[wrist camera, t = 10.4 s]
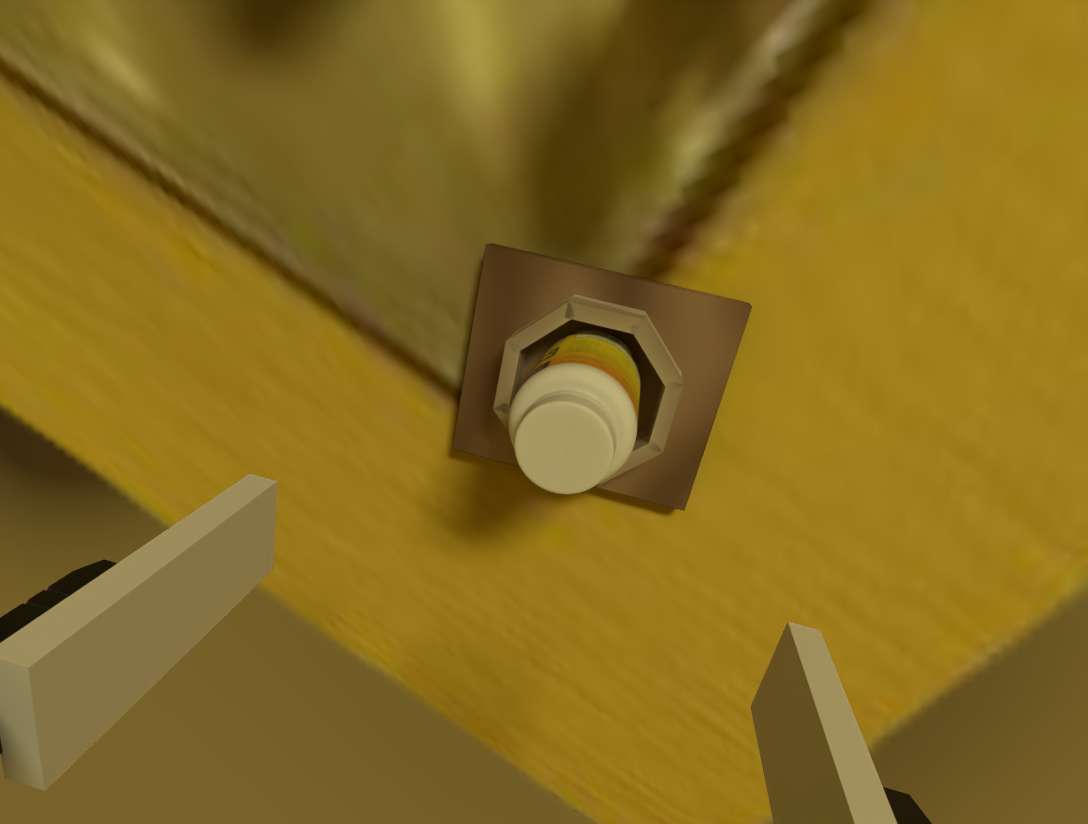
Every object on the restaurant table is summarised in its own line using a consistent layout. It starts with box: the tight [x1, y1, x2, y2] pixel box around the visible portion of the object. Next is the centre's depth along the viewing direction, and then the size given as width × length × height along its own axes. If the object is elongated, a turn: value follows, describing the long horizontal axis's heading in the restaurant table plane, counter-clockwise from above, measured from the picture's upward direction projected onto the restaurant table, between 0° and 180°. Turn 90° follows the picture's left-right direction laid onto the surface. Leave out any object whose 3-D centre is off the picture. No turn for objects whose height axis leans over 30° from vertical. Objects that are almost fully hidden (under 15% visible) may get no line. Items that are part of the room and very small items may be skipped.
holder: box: [452, 243, 752, 510], centre depth 32 cm, size 14×12×4 cm
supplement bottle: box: [508, 330, 641, 494], centre depth 28 cm, size 6×6×10 cm
